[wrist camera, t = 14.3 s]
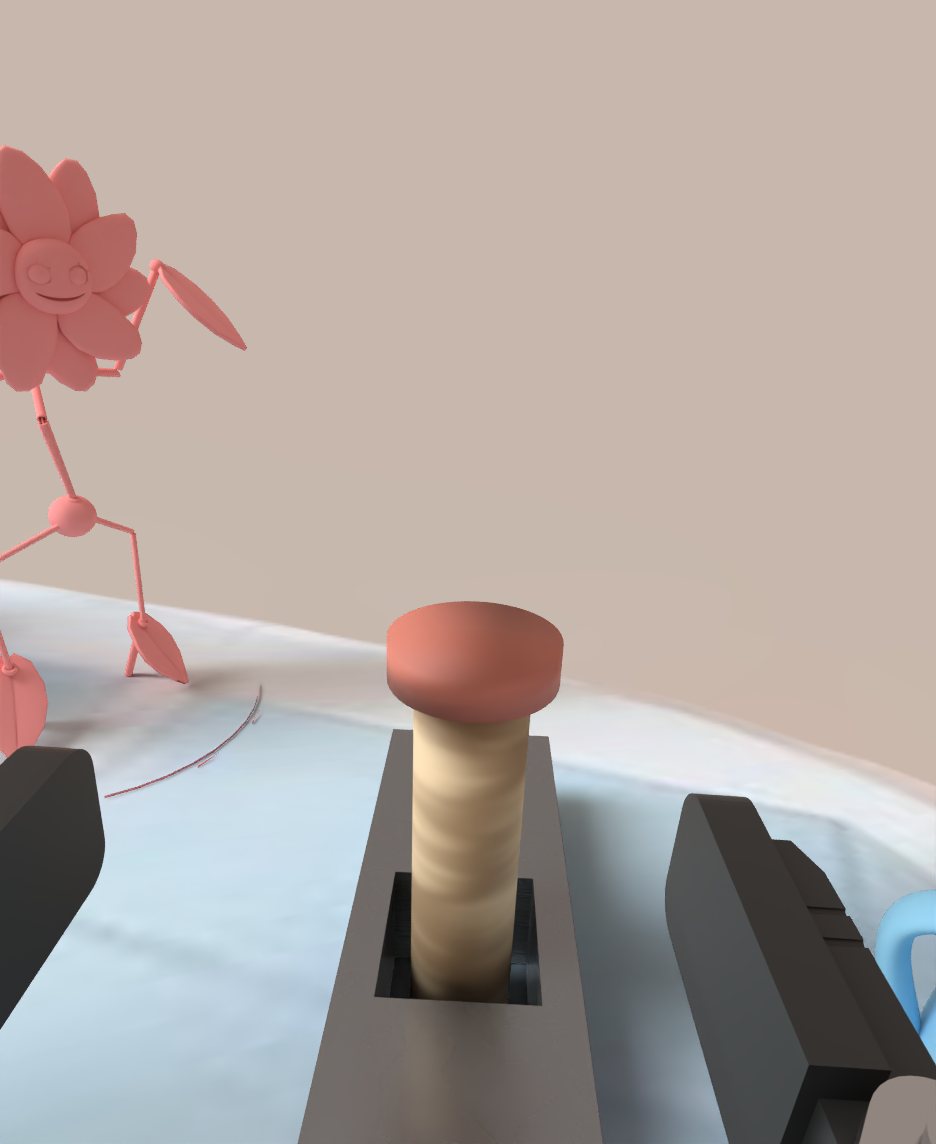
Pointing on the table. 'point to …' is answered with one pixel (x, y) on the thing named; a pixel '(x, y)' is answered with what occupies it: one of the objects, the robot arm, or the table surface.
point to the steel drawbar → (456, 1003)
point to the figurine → (74, 367)
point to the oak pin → (468, 783)
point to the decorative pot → (908, 957)
